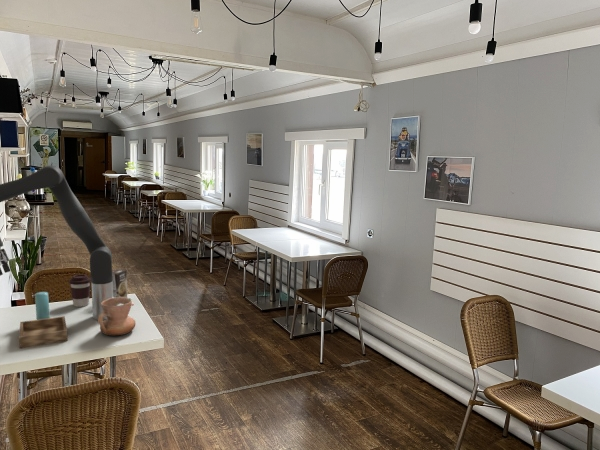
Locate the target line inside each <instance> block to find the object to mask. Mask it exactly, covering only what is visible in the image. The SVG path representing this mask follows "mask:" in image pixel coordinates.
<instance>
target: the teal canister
mask: <svg viewBox="0 0 600 450" xmlns="http://www.w3.org/2000/svg"><path fill="white" fill-rule="evenodd" d="M34 299H35V301H34V302H35V303H34V304H35V315H36V319H35V320H39V319H47V318H51V315H50V303H49V302H50V301H49V292H47V291H38V292H36V293H35V294H34Z"/></svg>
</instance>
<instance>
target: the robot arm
mask: <svg viewBox="0 0 600 450" xmlns="http://www.w3.org/2000/svg"><path fill="white" fill-rule="evenodd" d="M42 189H49V190H50V192H51V193H52V194H53V195H54V197H55V199H56V201H57V203H58V207H59V210H60V212H61V214H62V217H63V219H64V220H65V222H66V224H67V225H68V227H69V229H70V230H71V231H72V232H73V234H75V236H77V237H78V239H80V240H81V241H82V242H83V244H84V246H85V247H86V249H87V251H88V253H89V255H90V256H89V271H90V278H91V282H90V283H91V284H90V287H91V305H92V306H91V307H92V318H93V320H97V321H98V316H99V315H100V314H101V313H103V312H104V311H103V309H102V305H101V303H102V302H103V301H105V300H107V299H110V298H114V297H113V276H112V271H113V262H112V261H113V254H112V251H111V249H109V247H108V246H107V244H106V243H105V242H104V241H103V239H102V238H101V237H100V235H99V233H98V232H97V229H96V228H95V225H94V224H93V221H92V219H91V218H90V217H89V215H88V213H87V212H86V210H85V208H84V207H83V205H82V204H81V202H80V201H79V198H77V196H76V195H75V194H74V192H73V191H72V189H71V187H70V186H69V183H68V181H67V179H66V177H65V175H64V173H63V171H62V170H61V169H60V167H58V166H56V165H47V166H44V167H42V168H40V169H39V170H37V171H35V172H34V173H32V174H29V175H27V176H25V177H24V176H23V177H21V178H18V179H16V180H11V181H7V182H3V183H1V184H0V203H2V202H5V201H8V200H11V199H14V198H16V197H18V196H21V195H23V194H26V193H29V192H33V191H36V190H42ZM3 243H4V242H3V241H2V238H1V237H0V265H1V266H2V268H1V267H0V276H2V275H3V274H4V273H9V272H11V268H10V265H9V261H10V258H9V256H8V254H7V252H6V250H5V248H1V247H4V244H3ZM2 269H3V271H4V273H3V271H2ZM106 319H107V317H106V316H104V317H103V321H105V320H106Z"/></svg>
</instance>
